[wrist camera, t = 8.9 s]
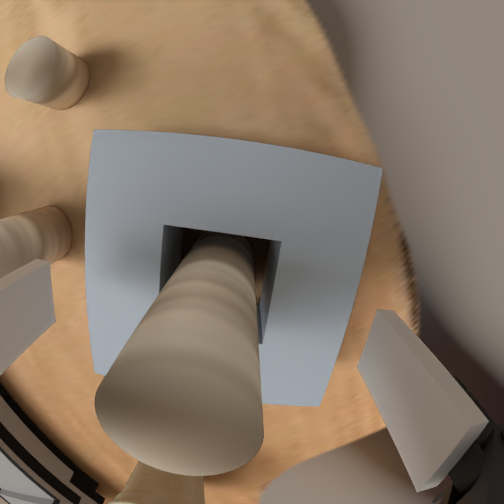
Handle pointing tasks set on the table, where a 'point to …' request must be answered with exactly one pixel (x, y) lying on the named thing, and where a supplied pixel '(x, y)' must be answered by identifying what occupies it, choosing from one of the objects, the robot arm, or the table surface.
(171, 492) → the flower pot
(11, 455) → the game console
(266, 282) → the hole block
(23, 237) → the dowel medium
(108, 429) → the dowel long
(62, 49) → the dowel short
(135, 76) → the table surface
